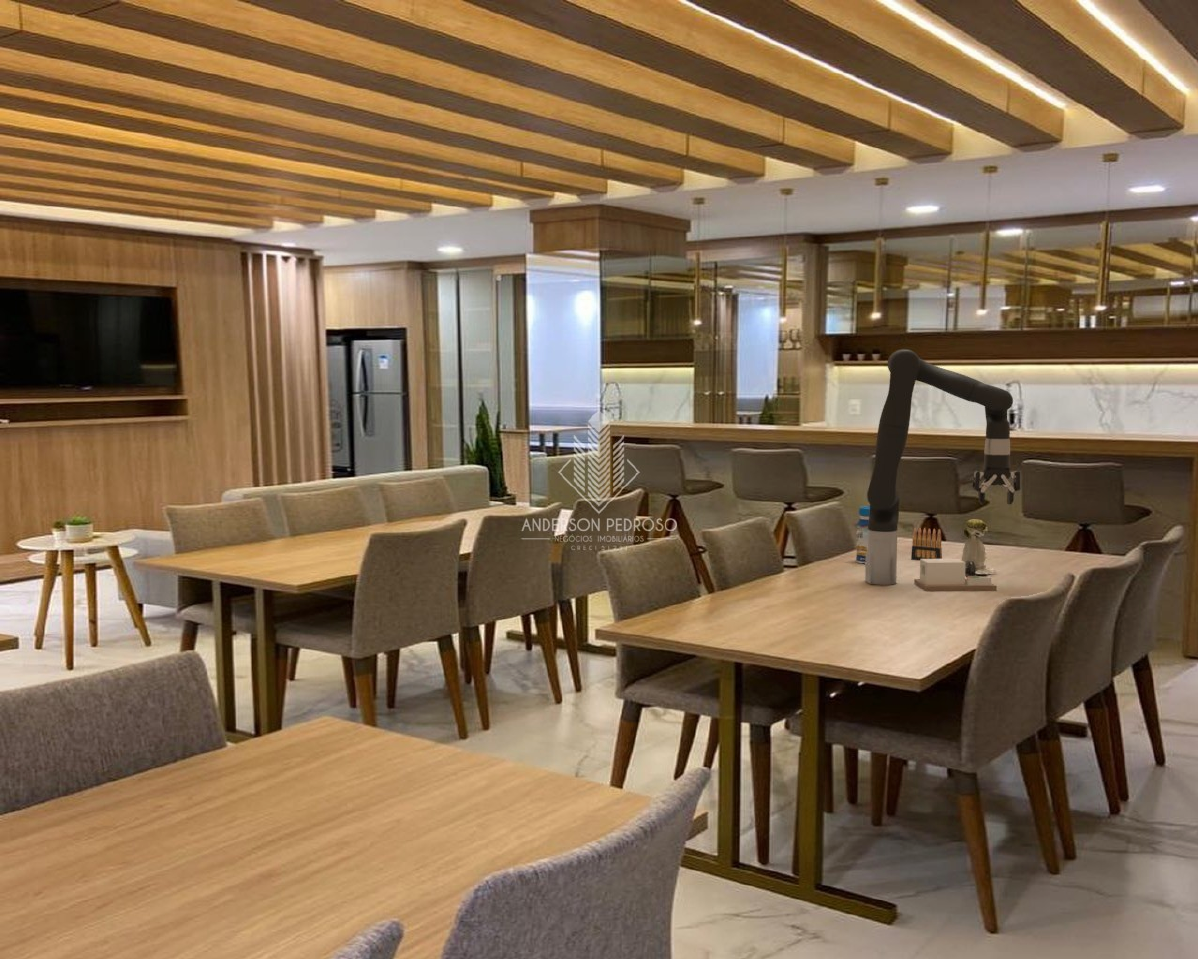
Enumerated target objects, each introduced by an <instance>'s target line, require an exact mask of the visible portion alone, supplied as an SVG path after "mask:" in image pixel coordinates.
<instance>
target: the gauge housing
mask: <svg viewBox="0 0 1198 959" xmlns="http://www.w3.org/2000/svg"><path fill="white" fill-rule="evenodd" d="M913 581H914V585H916V586H917V587H918V588H920V589H922V590H923V591H925V592H967V591H968V592H981V591H982V592H984V591H985V592H992V591H993V592H995V591H997V587H998V586H997V585H996V584H994V583H992V577H991V576H978V575H975V576H968V577H967V578H966V575H965V562H964V561H962V559H959V558H942V559H920V562H919V578H914V579H913Z"/></svg>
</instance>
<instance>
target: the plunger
mask: <svg viewBox="0 0 1198 959" xmlns="http://www.w3.org/2000/svg"><path fill="white" fill-rule="evenodd" d="M968 576H978V574H976V569H975V564H974V562H973V561H966V563H965V579H967V577H968Z"/></svg>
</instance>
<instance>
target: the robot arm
mask: <svg viewBox="0 0 1198 959" xmlns="http://www.w3.org/2000/svg"><path fill="white" fill-rule="evenodd" d="M887 368H888V371H889V386H888V393H887V396H886V399H885V402H884V405H883V408H882V411H881V414H880V418H879V422H878V429H877V433H876V434H877V435H876V442H875V443H876V444H875V456H874V465H873V470H872V475H871V479H870V482H869V485H868V488H867V492H866V497H867V498H866V499H867V502H868V503H869V506H870V514H869V520H868V551H867V552H866V564H865V570H864V572H865V573H864V576H865V577H864V579H865V582H866V583H868V584H869V585H878V586H879V585H880V586H882V585H884V586H887V585H888V586H889V585H891V586H892V585H896V584H897V575H898V574H897V570H898V569H897V568H898V566H897V564H898V562H897V561H898V558H897V557H898V527H899V526H898V525H899V516H900V515H899V512H900V492H899V487H898V486H897V478H898V476H897V475H898V469H899V466H900V462H901V460H902V457H903V454H904V451H905V449H906V448H905V447H906V444H907V440H908V435H909V430H910V429H909V428H910V421H911V411H912V400H913V399H912V398H913V392H914V389H915V385H916V382H920V383H924V384H926V385H929V386H932V387H934V388H936V389H938V390H940V391H943V392H945V393H946V394H950V395H952V396H954V397H956V398H959V399H962V400H964V401H967V402H971V403H976V404H979V405H981V406H983V407H984V414H985V420H986V425H985V426H986V428H985V442H984V450H983V453H984V458H983V460H984V461H983V462H984V463H983V464H984V465H983V466H984V467H983V471H977V470H975V471H973V477H972V486H971V487H972V490H974V491H976V492H978V495H977V497H978V498H977V501H978V503H979V505H985V503H986V500H985V498H986V494H985V491H986V490H987V489H988V488H989V487H990V486H1004V487H1005V489H1006V490H1007V492H1006V494H1007V495H1006V503H1007V505H1012V503H1014V498H1015V495H1014V494H1015V492H1017V491H1021V473H1020V471H1017V470H1014V471H1011V470H1010V467H1011V466H1010V465H1011V440H1010V438H1011V437H1010V436H1011V433H1010V432H1011V425H1010V421H1009V419H1008V411H1009V410H1010V408H1012V406H1013V402H1014V398H1013V396H1012V395H1011V393H1010V392H1009V391H1008V390H1006V389H1003V388H1001V387H997V386H994V385H990V384H987V383H984V382H982V381H980V380H978V379H975V378H973V377H970V376H968V375H965V374H962V373H959V372H955V371H953V370H950V369H945V368H944V367H943V368H942V367H939V366H936V365H934V364H931V363H929V362H927V361H926V360H923V359H922V358H920V357H918V354H917V353H916V352H915V351H912V350H910V349H904V348H903V349H902V348H901V349H898V350H896V351H894V352H892V353H891V355H890V356H889V357H888V360H887ZM982 477H983V478H984V480H983V482H982V483H981V484H980V480H981V479H982ZM1010 477H1011V478H1012V479H1013V480H1012V481H1013V486H1012V484H1011V482H1010V481H1009V479H1010Z"/></svg>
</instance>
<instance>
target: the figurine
mask: <svg viewBox="0 0 1198 959" xmlns="http://www.w3.org/2000/svg"><path fill="white" fill-rule="evenodd" d="M988 531H989V528H988V524H987V523H986V522H984V520H982V519H977V518H971V519H969V520H967V521H966V523H965V525H964V526H963V534H964V536H965V537H966V541H965V543H964V546H963V547H962V548H963V549H962V555H961V556H962V557H961V560H962V561H964V562H965V563H966V561H973V562H974V564H975V569H976V574H977V575H986V577H989V575H995V574H996V571H997V569H995V568H994V567H995V566H994V565H992V567H990V568H987V565H986V564H985V561H986V559H987V552H986V547H985V545H984V542H983V540H982V539H981V537H985V536H986V535H987V534H988Z"/></svg>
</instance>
